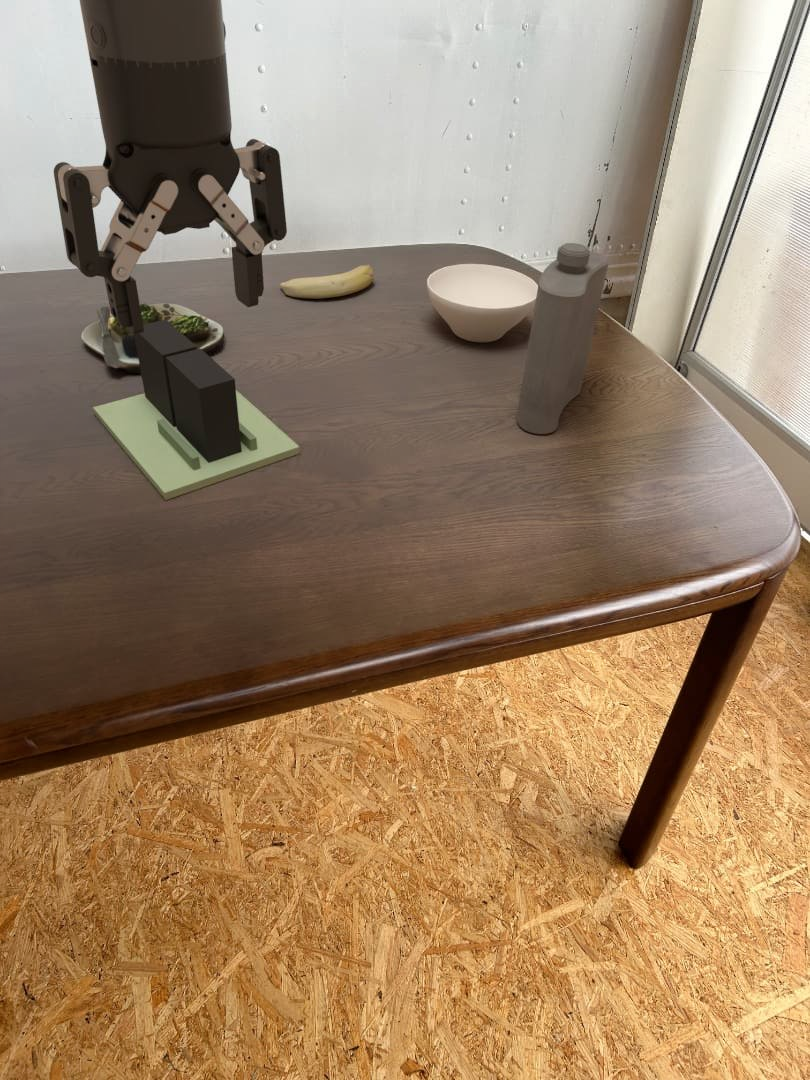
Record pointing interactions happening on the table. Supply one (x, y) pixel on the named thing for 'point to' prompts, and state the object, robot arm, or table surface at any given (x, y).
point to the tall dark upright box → (204, 404)
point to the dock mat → (153, 430)
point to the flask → (560, 336)
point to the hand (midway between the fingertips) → (192, 315)
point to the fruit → (329, 284)
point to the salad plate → (121, 343)
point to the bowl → (481, 299)
